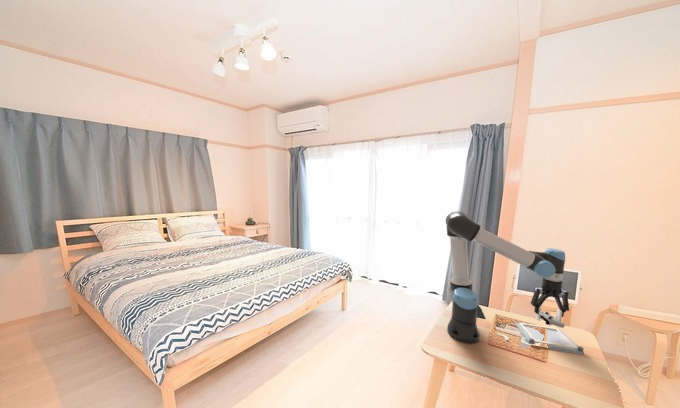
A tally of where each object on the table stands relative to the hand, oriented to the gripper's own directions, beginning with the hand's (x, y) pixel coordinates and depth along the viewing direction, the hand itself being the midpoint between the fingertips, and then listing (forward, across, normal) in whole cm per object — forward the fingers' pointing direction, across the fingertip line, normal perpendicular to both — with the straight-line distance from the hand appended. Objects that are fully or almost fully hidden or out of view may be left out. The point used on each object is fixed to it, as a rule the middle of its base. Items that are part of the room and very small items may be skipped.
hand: (547, 320), depth 122 cm
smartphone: (+10, -28, +18) cm, 35 cm away
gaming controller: (+1, 0, 0) cm, 1 cm away
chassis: (+10, 0, 0) cm, 10 cm away
